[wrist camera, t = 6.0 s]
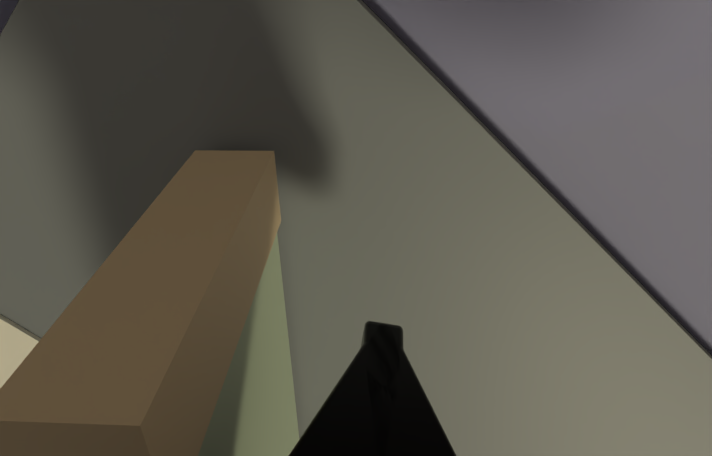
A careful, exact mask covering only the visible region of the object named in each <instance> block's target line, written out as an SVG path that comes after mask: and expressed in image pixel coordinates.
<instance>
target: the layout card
mask: <svg viewBox="0 0 712 456" xmlns="http://www.w3.org/2000/svg"><path fill="white" fill-rule="evenodd" d="M195 150H219V151H274V154H275V164H276V174H277V184H278V194H279V204H280V213H281V223H280V226H279V228H278V231H277V235H278V244H279V254H280V263H281V272H282V282H283V291H284V300H285V310H286V319H287V328H288V338H289V347H290V356H291V366H292V375H293V384H294V394H295V403H296V412H297V422H298V431H299V439H300V438H301V436H302V435H303V433H304V432H305V430H306V429H307V427H308V426H309V424H310V423H311V421H312V420H313V418H314V417H315V415H316V414H317V412H318V411H319V409H320V408H321V406H322V405H323V403H324V402H325V400H326V399H327V397H328V396H329V395H330V393H331V392H332V390H333V389H334V387H335V386H336V384H337V383H338V381H339V380H340V378H341V377H342V375H343V374H344V372H345V371H346V369H347V368H348V366H349V365H350V363H351V362H352V360H353V359H354V357H355V356H356V354H357V353H358V351H359V350H360V348H361V342H362V337H363V331H364V326H365V323H366V322H367V321H374V322H381V323H387V324H393V325H399V326H401V327H402V329H403V346H404V352H405V354H406V356H407V358H408V360H409V362H410V364H411V366H412V368H413V370H414V372H415V374H416V376H417V378H418V380H419V382H420V384H421V386H422V388H423V390H424V392H425V394H426V396H427V398H428V400H429V402H430V404H431V406H432V408H433V410H434V412H435V414H436V416H437V418H438V420H439V422H440V424H441V426H442V428H443V430H444V432H445V434H446V436H447V438H448V440H449V442H450V444H451V446H452V448H453V450H454V452H455V454H456V456H712V355H711V354H710V353H709V352H708V351H707V350H706V349H705V348H704V347H703V346H702V345H701V344H700V343H699V342H698V341H697V340H696V339H695V338H694V337H693V336H692V335H691V334H690V333H689V332H688V331H687V330H686V329H685V328H684V327H683V326H682V325H681V324H680V323H679V322H678V321H677V320H676V319H675V318H674V317H673V316H672V315H671V314H670V313H669V312H668V311H667V310H666V309H665V308H664V307H663V306H662V305H661V304H660V303H659V302H658V301H657V300H656V299H655V298H654V297H653V296H652V295H651V294H650V293H649V292H648V291H647V289H646V288H645V287H644V286H643V285H642V284H641V283H640V282H639V281H638V280H637V279H636V278H635V277H634V276H633V275H632V274H631V273H630V272H629V271H628V270H627V269H626V268H625V267H624V266H623V265H622V264H621V263H620V262H619V261H618V260H617V259H616V258H615V257H614V256H613V255H612V254H611V253H610V252H609V251H608V250H607V249H606V248H605V247H604V246H603V245H602V244H601V243H600V242H599V241H598V240H597V239H596V238H595V237H594V236H593V235H592V234H591V233H590V232H589V231H588V230H587V229H586V228H585V227H584V226H583V225H582V223H581V222H580V221H579V220H578V219H577V218H576V217H575V216H574V215H573V214H572V213H571V212H570V211H569V210H568V209H567V208H566V207H565V206H564V205H563V204H562V203H561V202H560V201H559V200H558V199H557V198H556V197H555V196H554V195H553V194H552V193H551V192H550V191H549V190H548V189H547V188H546V187H545V186H544V185H543V184H542V183H541V182H540V181H539V180H538V179H537V178H536V177H535V176H534V175H533V174H532V173H531V172H530V171H529V170H528V169H527V168H526V167H525V166H524V165H523V164H522V163H521V162H520V161H519V160H518V159H517V157H516V156H515V155H514V154H513V153H512V152H511V151H510V150H509V149H508V148H507V147H506V146H505V145H504V144H503V143H502V142H501V141H500V140H499V139H498V138H497V137H496V136H495V135H494V134H493V133H492V132H491V131H490V130H489V129H488V128H487V127H486V126H485V125H484V124H483V123H482V122H481V121H480V120H479V119H478V118H477V117H476V116H475V115H474V114H473V113H472V112H471V111H470V110H469V109H468V108H467V107H466V106H465V105H464V104H463V103H462V102H461V101H460V100H459V99H458V98H457V97H456V96H455V95H454V94H453V92H452V91H451V90H450V89H449V88H448V87H447V86H446V85H445V84H444V83H443V82H442V81H441V80H440V79H439V78H438V77H437V76H436V75H435V74H434V73H433V72H432V71H431V70H430V69H429V68H428V67H427V66H426V65H425V64H424V63H423V62H422V61H421V60H420V59H419V58H418V57H417V56H416V55H415V54H414V53H413V52H412V51H411V50H410V49H409V48H408V47H407V46H406V45H405V44H404V43H403V42H402V41H401V40H400V39H399V38H398V37H397V36H396V35H395V34H394V33H393V32H392V31H391V30H390V29H389V28H388V26H387V25H386V24H385V23H384V22H383V21H382V20H381V19H380V18H379V17H378V16H377V15H376V14H375V13H374V12H373V11H372V10H371V9H370V8H369V7H368V6H367V5H366V4H365V3H364V2H363V1H362V0H19V1H18V3H17V5H16V7H15V9H14V11H13V12H12V14H11V16H10V18H9V20H8V22H7V24H6V25H5V27H4V29H3V31H2V33H1V35H0V388H1V387H2V386H3V385H4V384H5V382H6V381H7V380H8V379H9V377H10V376H11V375H12V374H13V373H14V371H15V370H16V369H17V368H18V366H19V365H20V364H21V363H22V362H23V360H24V359H25V358H26V357H27V355H28V354H29V353H30V352H31V351H32V349H33V348H34V347H35V346H36V344H37V343H38V342H39V341H40V340H41V338H42V337H43V336H44V335H45V333H46V332H47V331H48V330H49V329H50V327H51V326H52V325H53V324H54V322H55V321H56V320H57V319H58V318H59V316H60V315H61V314H62V313H63V311H64V310H65V309H66V308H67V307H68V305H69V304H70V303H71V302H72V300H73V299H74V298H75V297H76V296H77V294H78V293H79V292H80V291H81V289H82V288H83V287H84V286H85V285H86V283H87V282H88V281H89V280H90V278H91V277H92V276H93V275H94V274H95V272H96V271H97V270H98V269H99V267H100V266H101V265H102V264H103V263H104V261H105V260H106V259H107V258H108V256H109V255H110V254H111V253H112V252H113V250H114V249H115V248H116V247H117V245H118V244H119V243H120V242H121V241H122V239H123V238H124V237H125V236H126V234H127V233H128V232H129V231H130V230H131V228H132V227H133V226H134V225H135V223H136V222H137V221H138V220H139V218H140V217H141V216H142V215H143V214H144V212H145V211H146V210H147V209H148V207H149V206H150V205H151V204H152V203H153V201H154V200H155V199H156V198H157V196H158V195H159V194H160V193H161V192H162V190H163V189H164V188H165V187H166V185H167V184H168V183H169V182H170V181H171V179H172V178H173V177H174V176H175V174H176V173H177V172H178V171H179V170H180V168H181V167H182V166H183V165H184V163H185V162H186V161H187V160H188V159H189V157H190V156H191V155H192V154H193V152H194V151H195Z"/></svg>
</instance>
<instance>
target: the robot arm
mask: <svg viewBox="0 0 712 456" xmlns="http://www.w3.org/2000/svg"><path fill="white" fill-rule="evenodd" d="M289 456H456V454H455V452H454V450H453V448H452V446H451V444H450V442H449V440H448V438H447V436H446V434H445V432H444V430H443V428H442V426H441V424H440V422H439V420H438V418H437V416H436V414H435V412H434V410H433V408H432V406H431V404H430V402H429V400H428V398H427V396H426V394H425V392H424V390H423V388H422V386H421V384H420V382H419V380H418V378H417V376H416V374H415V372H414V370H413V368H412V366H411V364H410V362H409V360H408V358H407V356H406V354H405V352H404V346H403V329H402V327H401V326H399V325H393V324H387V323H381V322H374V321H367V322H366V323H365V326H364V331H363V337H362V342H361V348H360V350H359V351H358V353H357V354H356V356H355V357H354V359H353V360H352V362H351V363H350V365H349V366H348V368H347V369H346V371H345V372H344V374H343V375H342V377H341V378H340V380H339V381H338V383H337V384H336V386H335V387H334V389H333V390H332V392H331V393H330V395H329V396H328V397H327V399H326V400H325V402H324V403H323V405H322V406H321V408H320V409H319V411H318V412H317V414H316V415H315V417H314V418H313V420H312V421H311V423H310V424H309V426H308V427H307V429H306V430H305V432H304V433H303V435H302V436H301V438H300V439H299V441H298V442H297V444H296V445H295V447H294V448H293V450H292V451H291V453H290V454H289Z"/></svg>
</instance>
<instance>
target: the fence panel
mask: <svg viewBox="0 0 712 456" xmlns="http://www.w3.org/2000/svg"><path fill="white" fill-rule="evenodd" d="M280 223H281V213H280V204H279V194H278V184H277V174H276V164H275V154H274V151H219V150H195V151H194V152H193V154H192V155H191V156H190V157H189V159H188V160H187V161H186V162H185V163H184V165H183V166H182V167H181V168H180V170H179V171H178V172H177V173H176V174H175V176H174V177H173V178H172V179H171V181H170V182H169V183H168V184H167V185H166V187H165V188H164V189H163V190H162V192H161V193H160V194H159V195H158V196H157V198H156V199H155V200H154V201H153V203H152V204H151V205H150V206H149V207H148V209H147V210H146V211H145V212H144V214H143V215H142V216H141V217H140V218H139V220H138V221H137V222H136V223H135V225H134V226H133V227H132V228H131V230H130V231H129V232H128V233H127V234H126V236H125V237H124V238H123V239H122V241H121V242H120V243H119V244H118V245H117V247H116V248H115V249H114V250H113V252H112V253H111V254H110V255H109V256H108V258H107V259H106V260H105V261H104V263H103V264H102V265H101V266H100V267H99V269H98V270H97V271H96V272H95V274H94V275H93V276H92V277H91V278H90V280H89V281H88V282H87V283H86V285H85V286H84V287H83V288H82V289H81V291H80V292H79V293H78V294H77V296H76V297H75V298H74V299H73V300H72V302H71V303H70V304H69V305H68V307H67V308H66V309H65V310H64V311H63V313H62V314H61V315H60V316H59V318H58V319H57V320H56V321H55V322H54V324H53V325H52V326H51V327H50V329H49V330H48V331H47V332H46V333H45V335H44V336H43V337H42V338H41V340H40V341H39V342H38V343H37V344H36V346H35V347H34V348H33V349H32V351H31V352H30V353H29V354H28V355H27V357H26V358H25V359H24V360H23V362H22V363H21V364H20V365H19V366H18V368H17V369H16V370H15V371H14V373H13V374H12V375H11V376H10V377H9V379H8V380H7V381H6V382H5V384H4V385H3V386H2V387H1V388H0V456H289V454H290V453H291V451H292V450H293V448H294V447H295V445H296V444H297V442H298V441H299V431H298V422H297V412H296V403H295V394H294V384H293V375H292V366H291V356H290V347H289V338H288V328H287V319H286V310H285V300H284V291H283V282H282V272H281V263H280V254H279V244H278V235H277V231H278V228H279V226H280Z"/></svg>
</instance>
